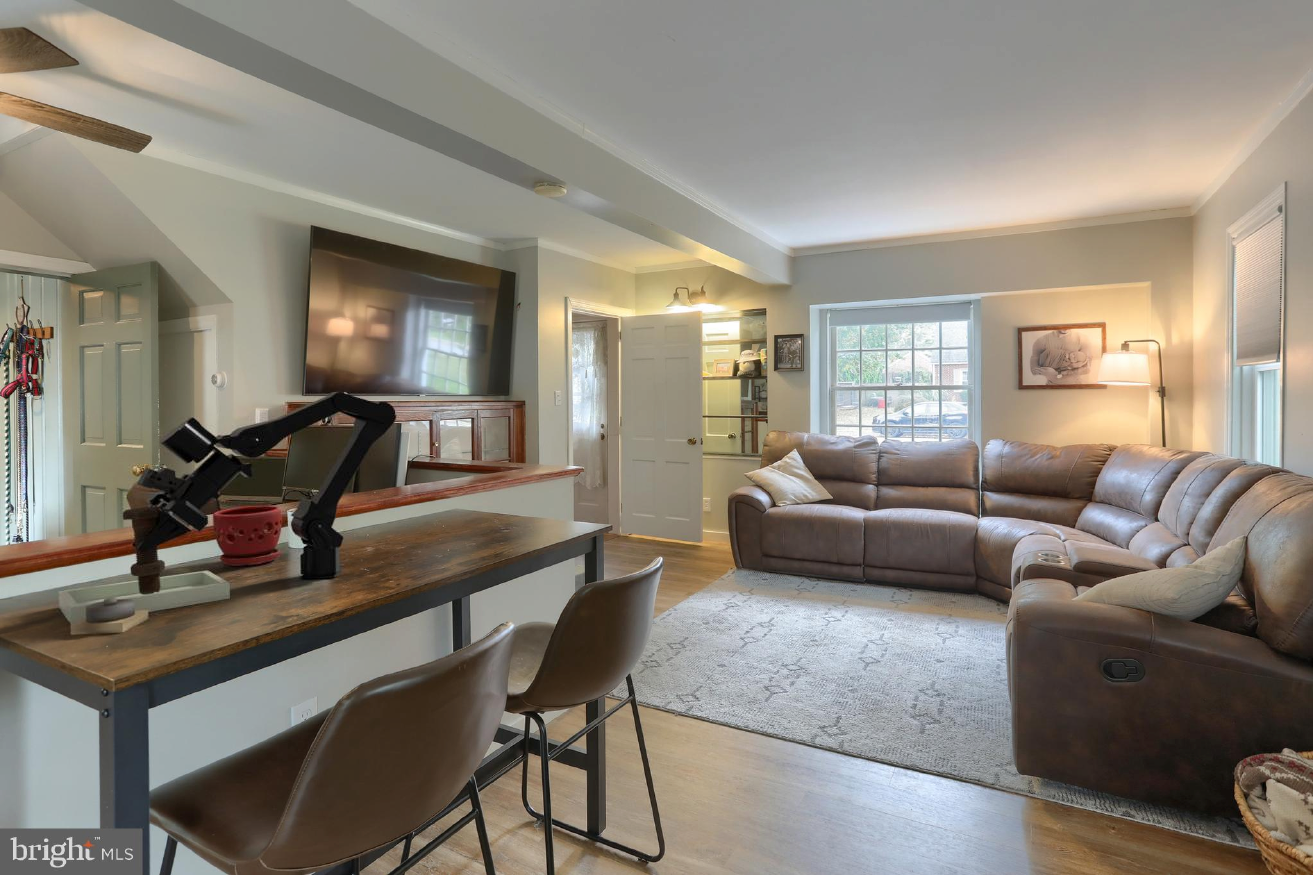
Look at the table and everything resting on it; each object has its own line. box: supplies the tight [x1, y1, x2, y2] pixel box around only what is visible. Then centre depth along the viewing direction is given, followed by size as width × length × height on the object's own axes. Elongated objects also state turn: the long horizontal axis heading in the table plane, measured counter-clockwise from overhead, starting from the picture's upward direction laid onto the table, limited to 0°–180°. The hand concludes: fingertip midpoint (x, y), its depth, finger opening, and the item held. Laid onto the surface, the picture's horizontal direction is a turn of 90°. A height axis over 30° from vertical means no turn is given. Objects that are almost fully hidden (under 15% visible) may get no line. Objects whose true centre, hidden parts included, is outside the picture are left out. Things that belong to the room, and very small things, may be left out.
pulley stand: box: [70, 598, 149, 636], centre depth 108 cm, size 7×7×4 cm
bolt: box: [122, 506, 166, 595], centre depth 121 cm, size 6×5×15 cm
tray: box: [58, 570, 231, 626], centre depth 122 cm, size 22×14×3 cm, turn 137°
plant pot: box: [212, 505, 283, 567], centre depth 155 cm, size 13×13×12 cm
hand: (137, 548), depth 120 cm, fingers closed on bolt, 4 cm apart
